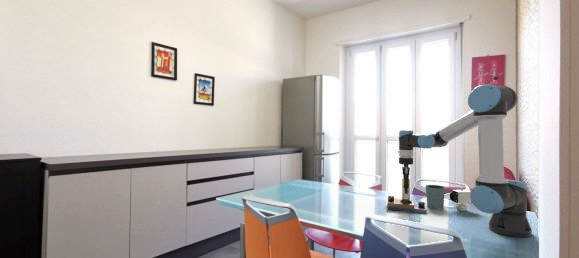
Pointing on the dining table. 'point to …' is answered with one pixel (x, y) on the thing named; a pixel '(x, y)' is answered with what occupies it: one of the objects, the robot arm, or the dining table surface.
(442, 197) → the grey green open container
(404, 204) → the brown block with knobs
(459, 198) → the white camera
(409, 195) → the brass pin
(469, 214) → the dining table surface
